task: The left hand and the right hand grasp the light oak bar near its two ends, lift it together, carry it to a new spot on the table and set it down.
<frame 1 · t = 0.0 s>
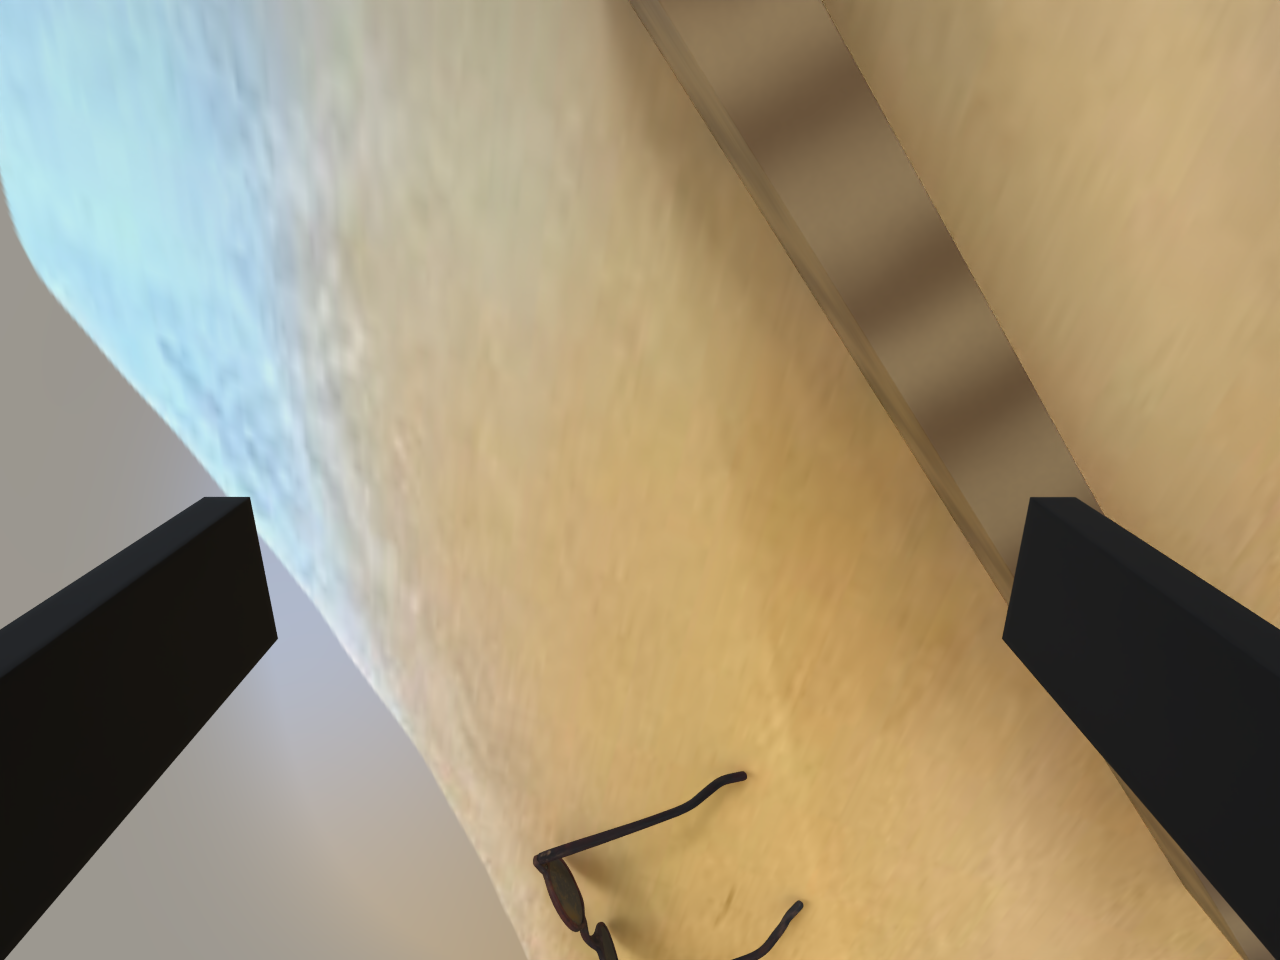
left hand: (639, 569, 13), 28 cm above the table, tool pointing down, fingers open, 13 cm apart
bar: (995, 500, 42), on the table
eyeglasses: (677, 866, 52), on the table
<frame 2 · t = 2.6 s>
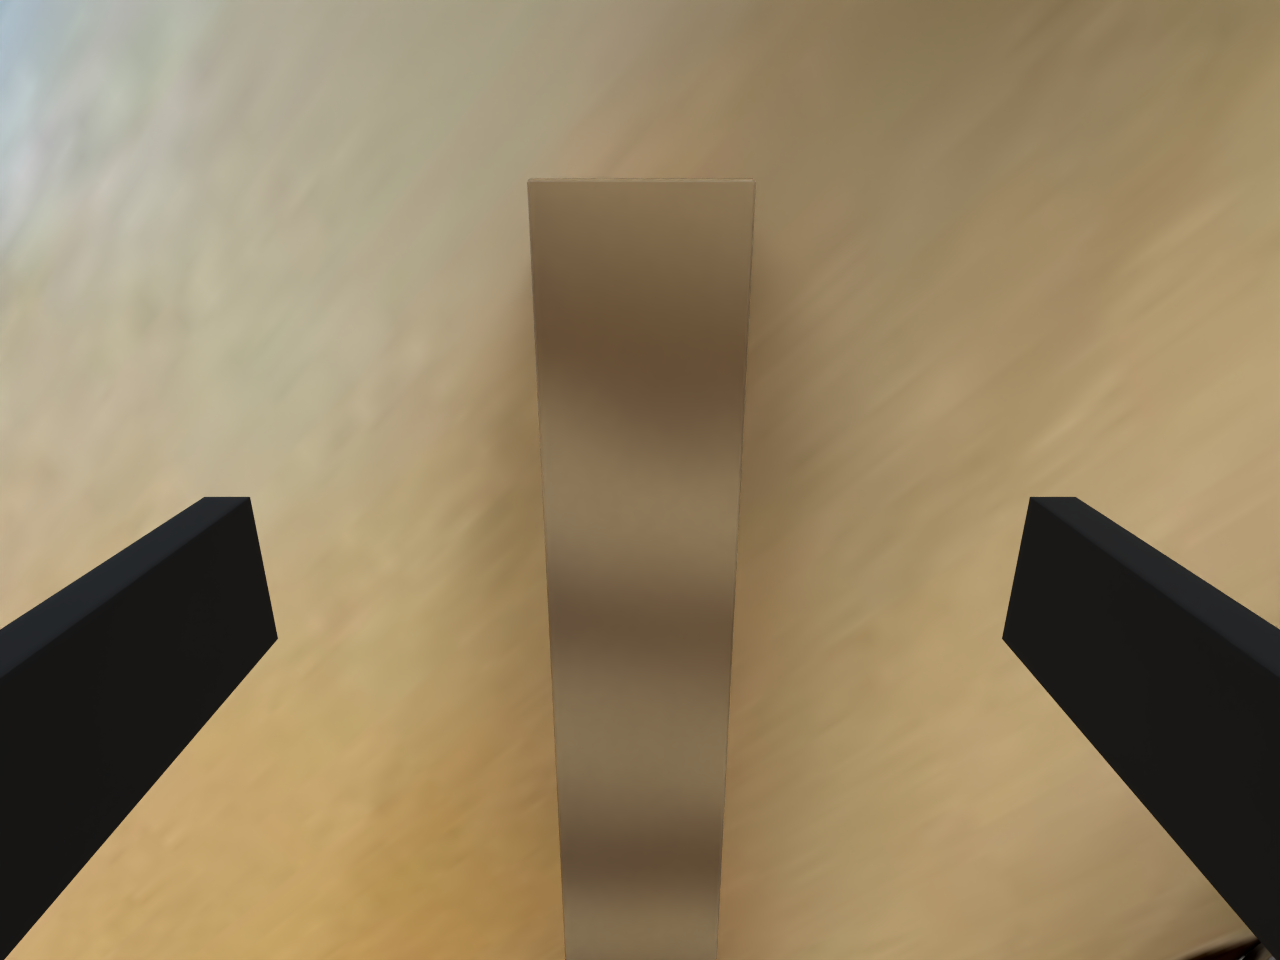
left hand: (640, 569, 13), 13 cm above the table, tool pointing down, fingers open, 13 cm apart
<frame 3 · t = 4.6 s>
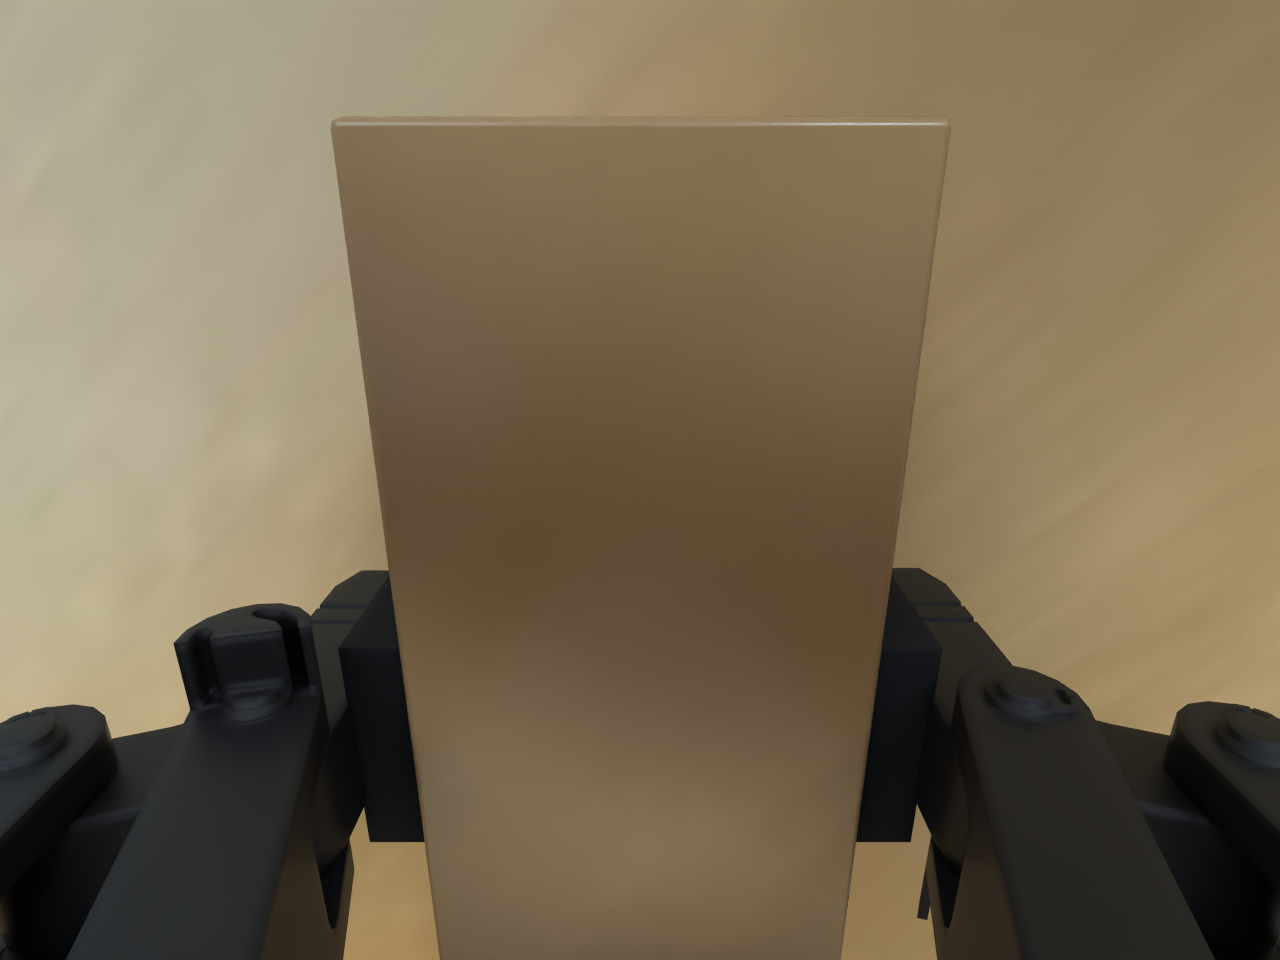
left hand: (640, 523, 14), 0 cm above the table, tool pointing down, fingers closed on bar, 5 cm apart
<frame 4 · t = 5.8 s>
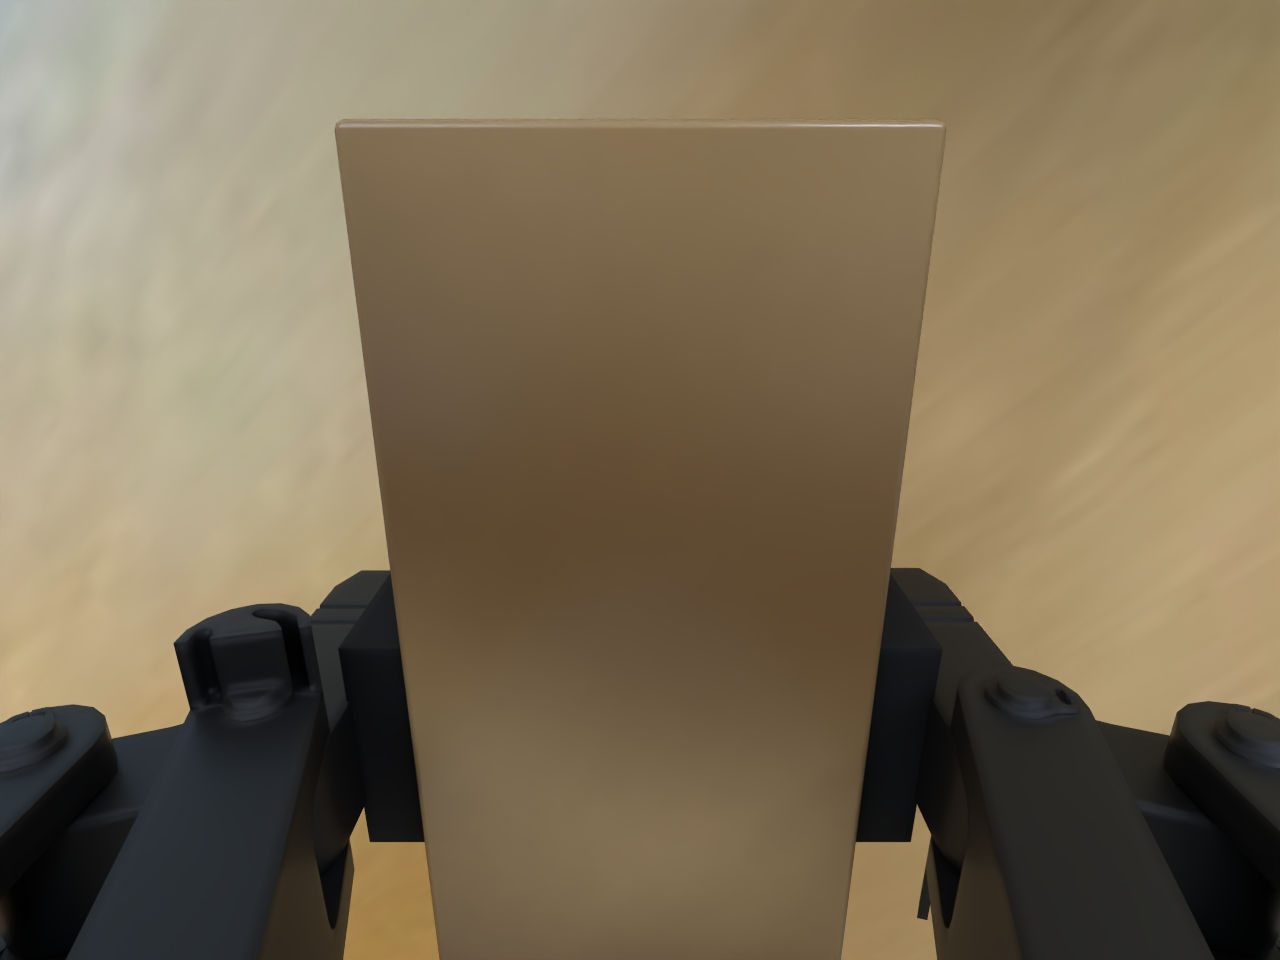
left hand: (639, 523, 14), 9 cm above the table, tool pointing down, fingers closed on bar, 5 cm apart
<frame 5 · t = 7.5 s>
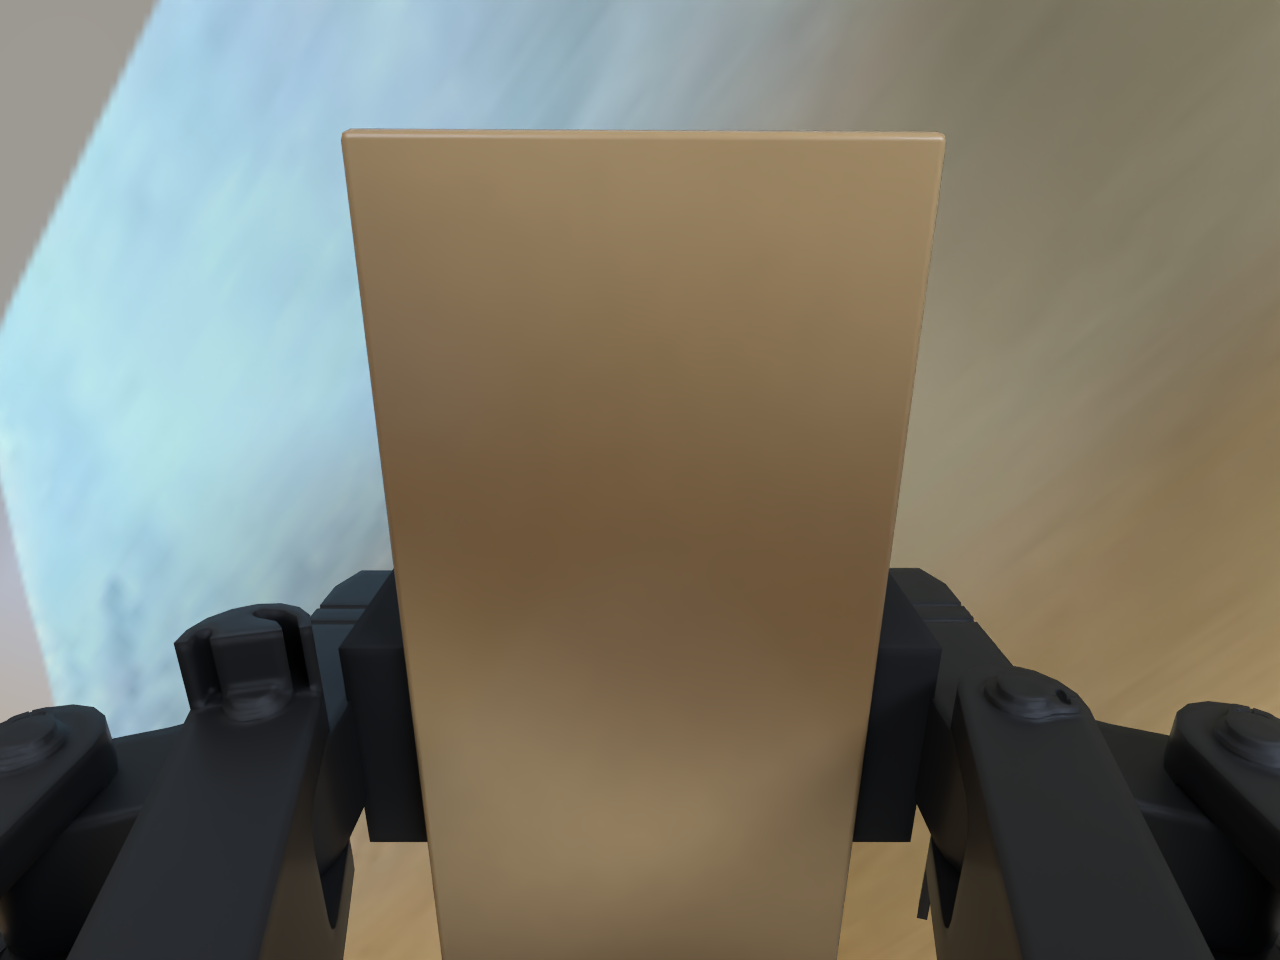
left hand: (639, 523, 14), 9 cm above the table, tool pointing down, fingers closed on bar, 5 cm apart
when the left hand's fingers open (2 cm above the table, at t = 9.0 s): bar drops 1 cm, on the table.
when the right hand's fingers open (4 cm above the table, at t = 9.2 s): bar stays where it is, on the table.
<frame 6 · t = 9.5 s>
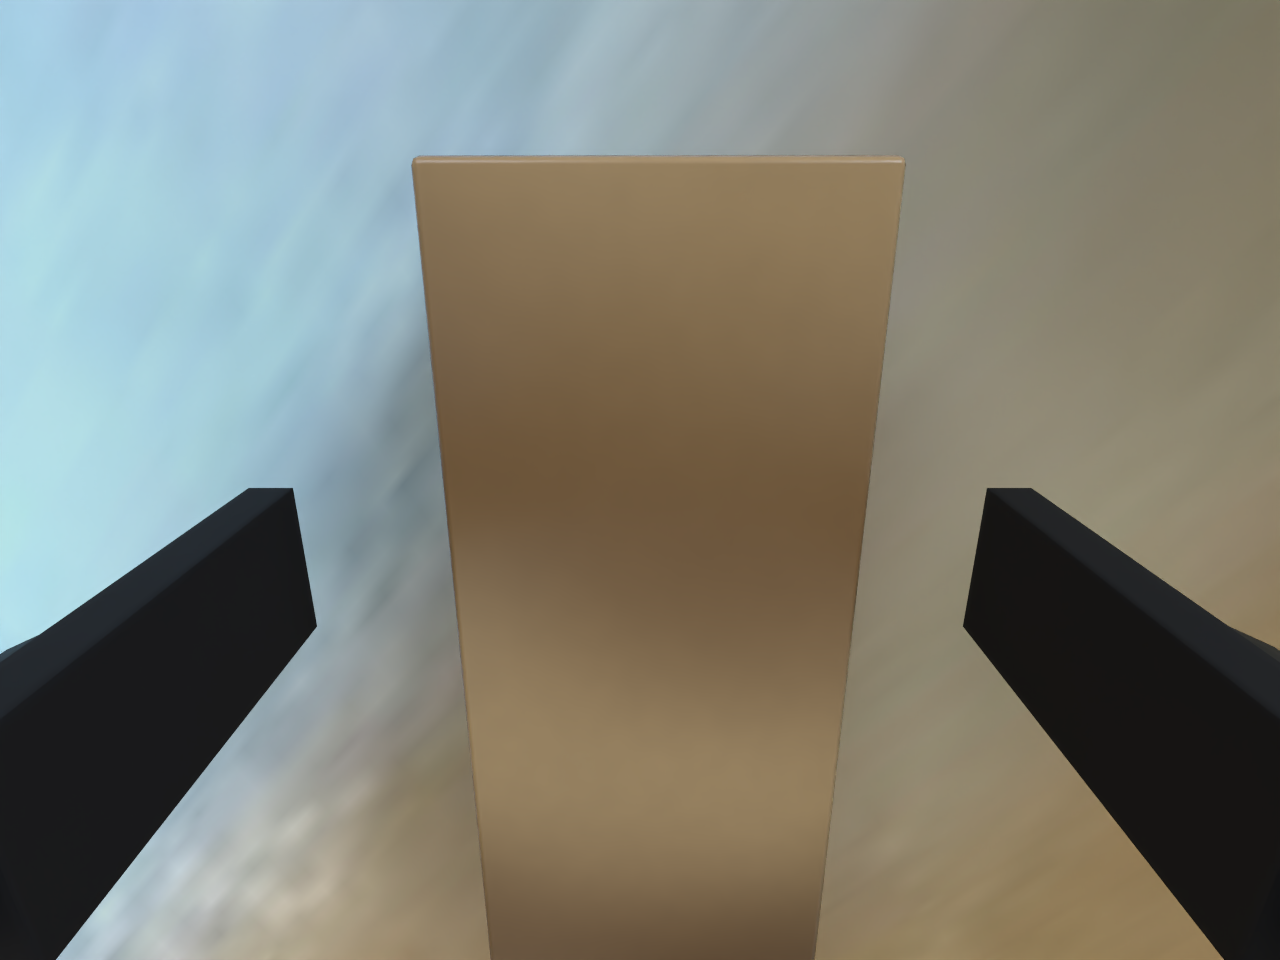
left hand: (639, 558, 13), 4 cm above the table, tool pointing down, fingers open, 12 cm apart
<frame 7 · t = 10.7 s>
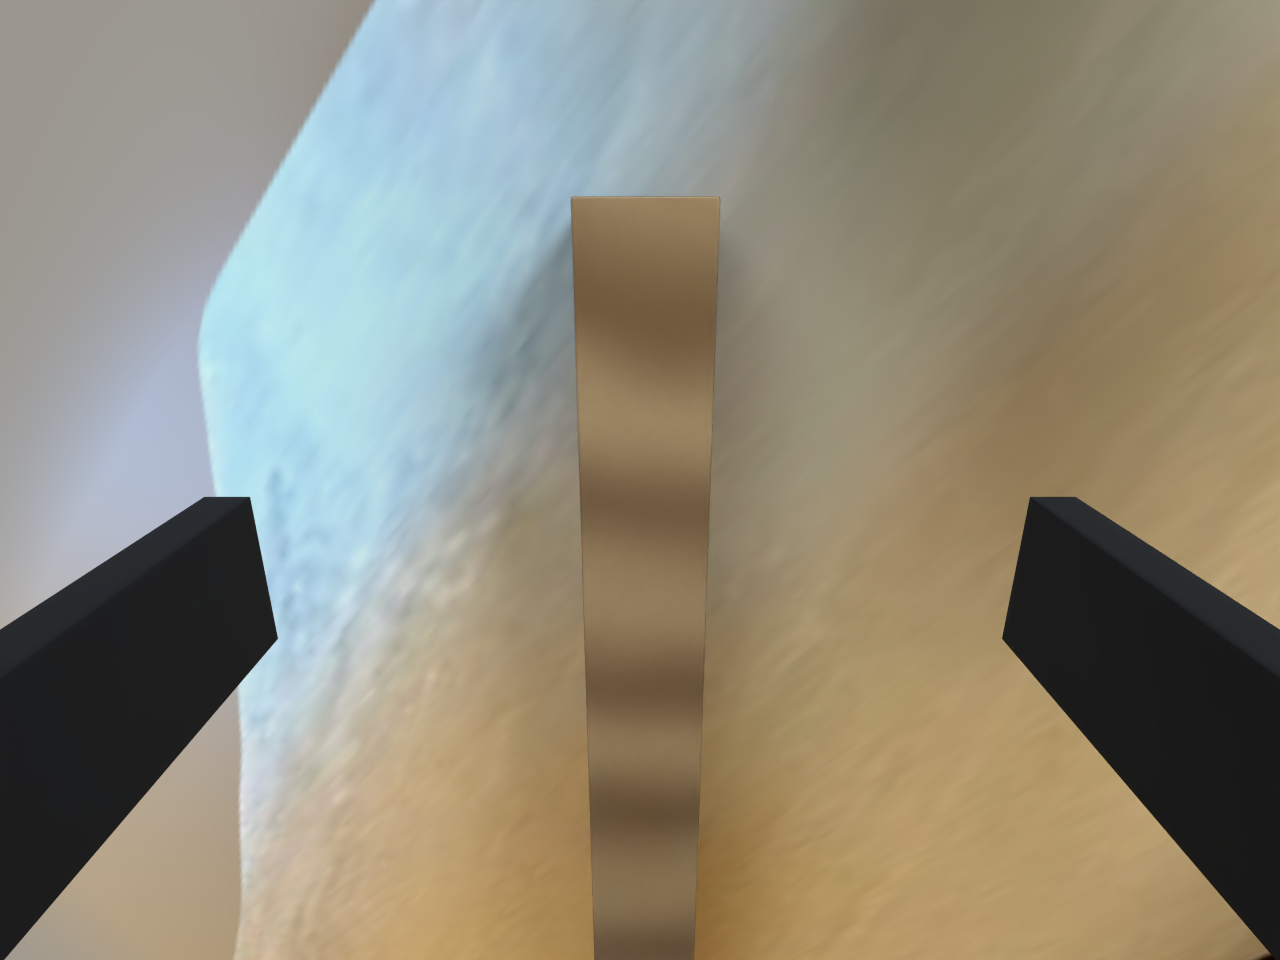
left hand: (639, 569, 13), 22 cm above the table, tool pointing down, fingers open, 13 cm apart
bar: (643, 836, 43), on the table
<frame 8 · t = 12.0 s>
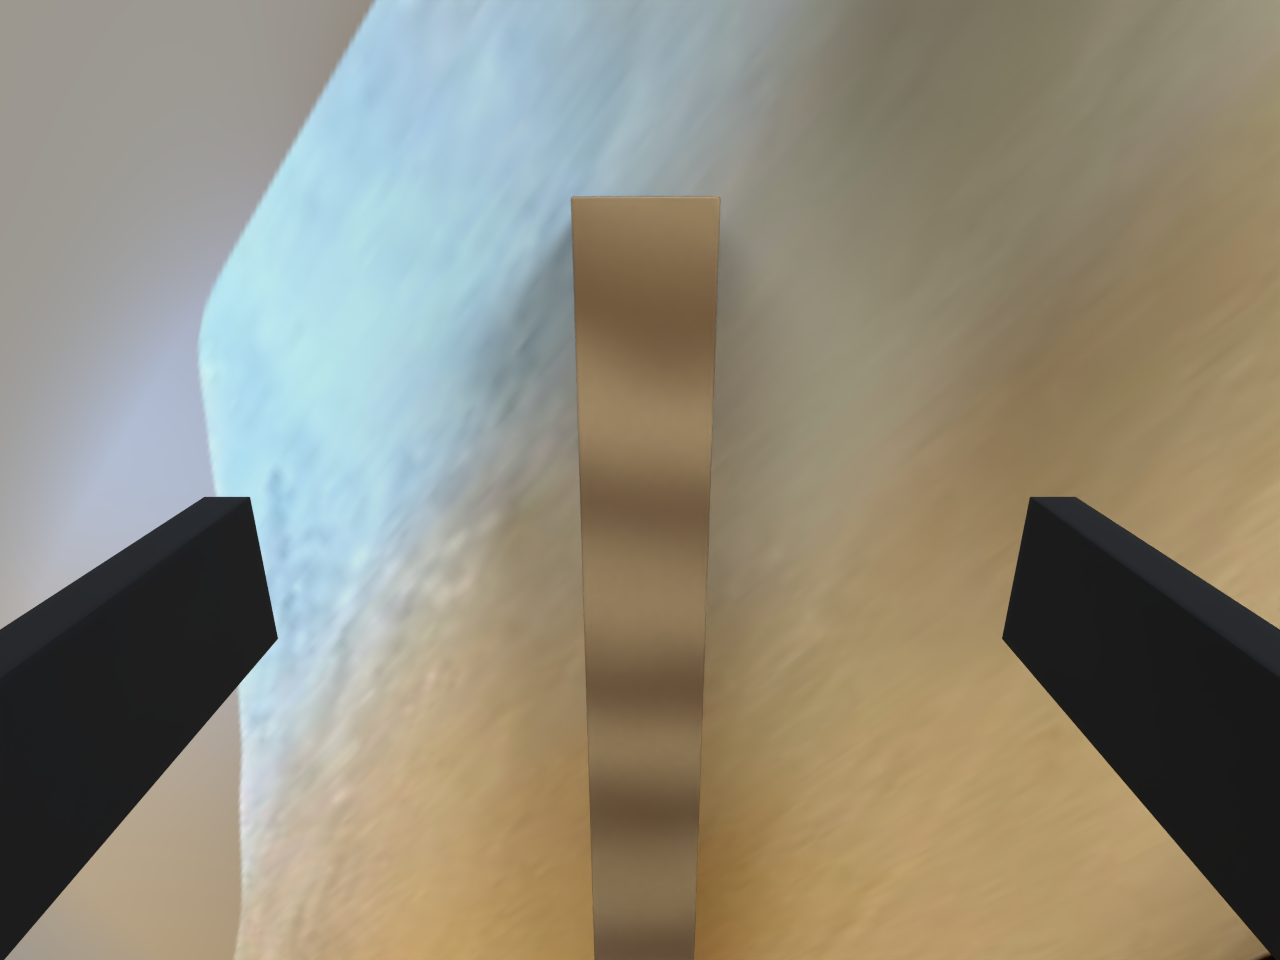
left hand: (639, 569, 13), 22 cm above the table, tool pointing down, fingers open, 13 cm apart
bar: (643, 835, 43), on the table
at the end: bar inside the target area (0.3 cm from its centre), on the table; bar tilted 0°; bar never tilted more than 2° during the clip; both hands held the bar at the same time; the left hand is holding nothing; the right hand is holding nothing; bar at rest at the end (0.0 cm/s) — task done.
